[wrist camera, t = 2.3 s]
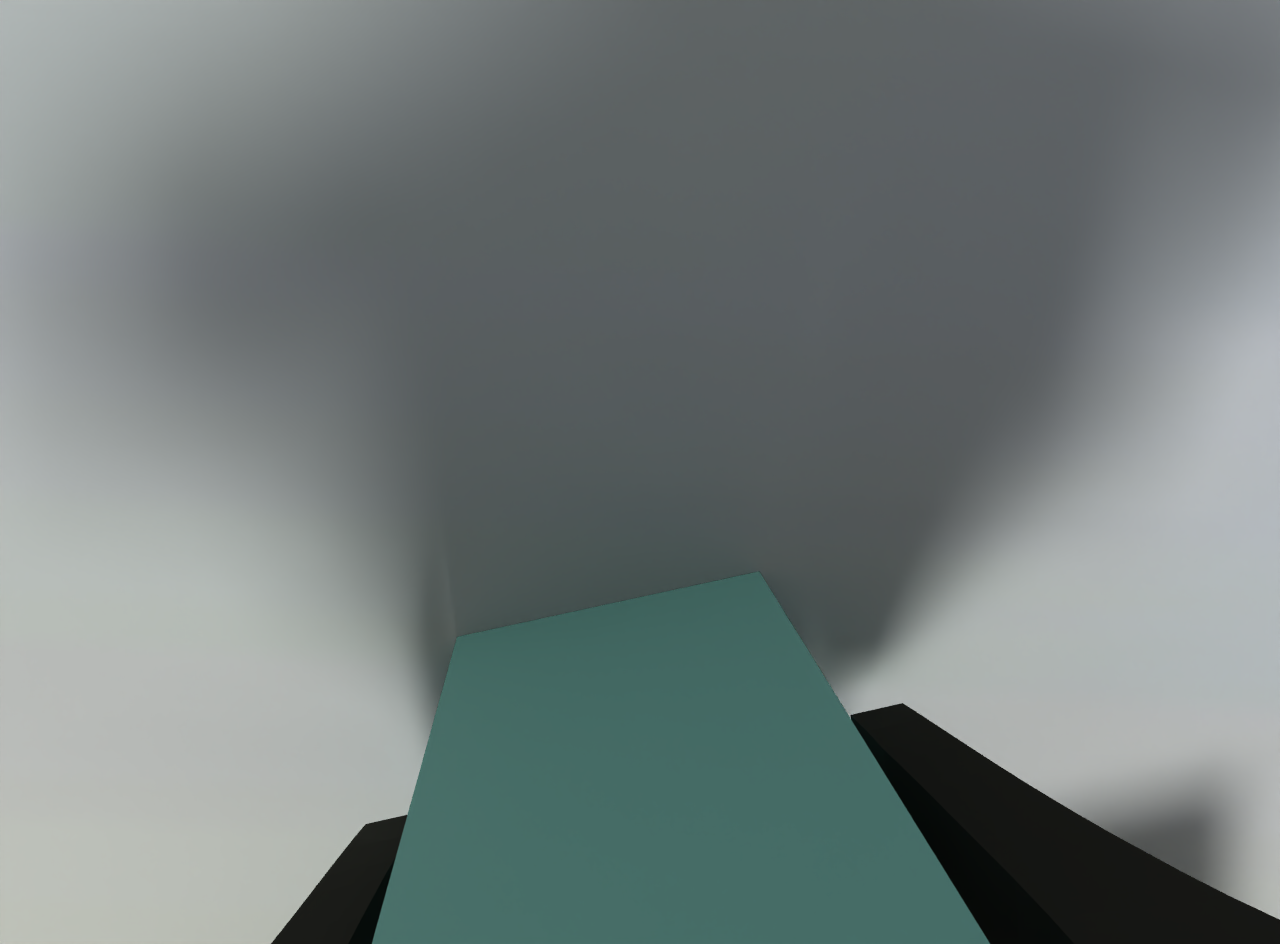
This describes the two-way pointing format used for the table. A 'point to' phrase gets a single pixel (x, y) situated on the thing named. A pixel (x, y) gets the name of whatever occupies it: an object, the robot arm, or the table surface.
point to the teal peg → (658, 791)
